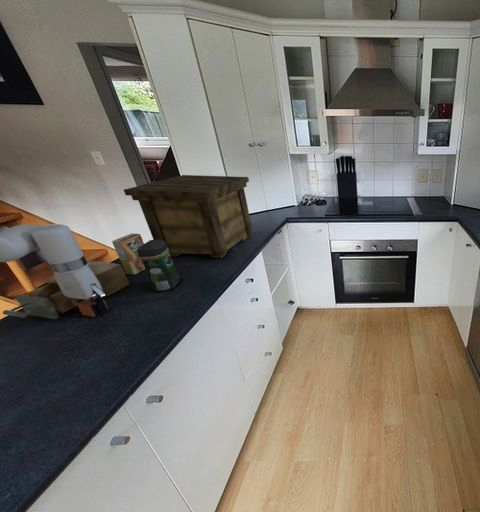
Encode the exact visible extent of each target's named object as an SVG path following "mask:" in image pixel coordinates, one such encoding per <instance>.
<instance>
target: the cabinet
mask: <svg viewBox="0 0 480 512" xmlns="http://www.w3.org/2000/svg"><path fill="white" fill-rule="evenodd" d="M88 267H89V268H90V269H91V270H92V272H93V273H94V275H95V276H96V278H97V280H98V281H99V283H100V285H101V287H102V290H103V291H102V292H103V293H104V294H105V295H106V296H105V297H104V299H105V298H107V297H108V296H111V295H112V294H114V293H116V292H118V291H120V290H122V289H124V288H127V287H128V286H130V285H131V284H130V282H129V280H128V277H127V276H126V275H127V274H126V272H125V270H124V268H123V266H122V263H121V264H120V263H113V262H106V261H99V260H93V261H90V262H88ZM45 282H46V283H47V284H50V283H57V281H56V278H55V276H52V277H49V278H47V279H45ZM93 294H95V293H92V295H93ZM95 297H97V296H95Z"/></svg>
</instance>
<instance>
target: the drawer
mask: <svg viewBox="0 0 480 512" xmlns="http://www.w3.org/2000/svg"><path fill="white" fill-rule="evenodd" d="M47 295H48V296H47ZM14 298H15V300H16V301H17V303H19V305H18V306H16V307H14V308H11V309H5V310H3V311H2V315H5V316H11V317H16V318H22V319H23V318H26V317H27V316H33V317H39V318H45V319H51V320H57V319H58V318H60V315H59V314H65V313H66V312H68V311H70V310H72V309H74V308H77V307H78V306H77V304H78V303H77V302H75V299H74V298H71V297H67V296H65V295H64V294H63V293H62V291H61V289H60V287H59V285H58V283H50V284H48V283H47V284H45V285H42V286H40V287H38V288H35V289H33V290H31V291H27V294H20V293H19V294H16V295H14ZM21 308H22V309H23V310H24V312H23V311H17V310H19V309H21Z"/></svg>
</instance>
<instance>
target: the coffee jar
mask: <svg viewBox="0 0 480 512" xmlns="http://www.w3.org/2000/svg"><path fill="white" fill-rule="evenodd" d="M137 253H138V256H139V258H140V259H141V261H142V262H143V264H144V267H145V269H144V270H145V272H146V275H147V277H148V280H149V283H150V287H151V288H152V290H153V291H156V292H166V291H168V290H171V289H173V288H175V287H176V286H177V285H178V284H179V282H180V279H181V277H180V276H179V273H178V271H177V268H176V266H175V263H174V262H173V259H172V256H170V253H169V249H168V246H167V244H166V242H165V241H163V240H161V239H160V240H153V239H149V240H148V241H146V242H145V243H144V244H143V245H142V246H141V247H139V248H138V249H137Z"/></svg>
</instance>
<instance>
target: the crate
mask: <svg viewBox="0 0 480 512" xmlns="http://www.w3.org/2000/svg"><path fill="white" fill-rule="evenodd" d="M249 182H250V179H249V176H225V175H196V174H195V175H194V174H181V175H176V176H174V177H169V178H166V179H162V180H157V181H153V182H149V183H144V184H141V185H137V186H133V187H129V188H125V189H123V193H124V194H125V196H130V197H131V199H132V201H137V202H138V203H139V206H140V209H141V211H142V214H143V217H144V219H145V222H146V224H147V227H148V229H149V232H150V235H151V237H152V240H160V239H161V240H163V241H165V242H166V244H167V246H168V249H169V253H170V256H171V257H180V256H182V255H184V254H188V255H189V254H191V255H210V256H211V259H222V258H223V257H225V256H226V255H227V253H228V250H229V249H231V248H232V247H233V246H235V245H236V244H238V243H239V242H244V241H246V240H247V239H248V236H251V235H252V234H253V233H254V231H253V226H252V222H251V215H250V211H249V207H248V203H247V196H246V192H245V188H247V187H248V184H247V183H249Z"/></svg>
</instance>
